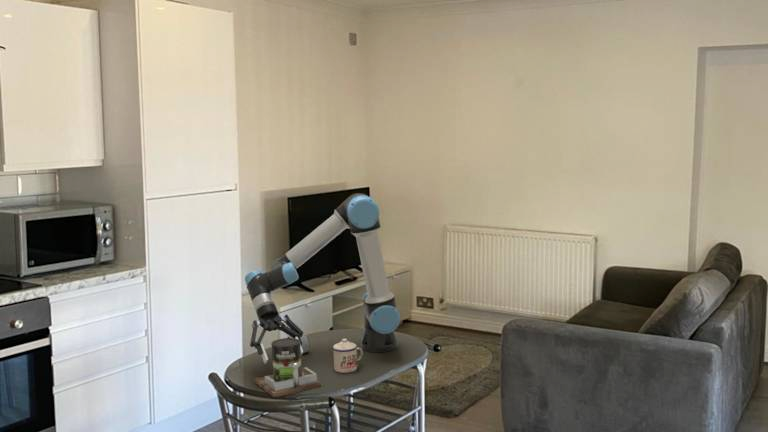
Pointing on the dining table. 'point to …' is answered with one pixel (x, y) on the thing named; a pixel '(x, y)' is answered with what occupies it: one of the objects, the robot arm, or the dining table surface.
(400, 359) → the dining table surface
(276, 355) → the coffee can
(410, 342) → the dining table surface
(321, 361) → the dining table surface
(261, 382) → the board
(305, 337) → the ceramic mug
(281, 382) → the keeper cradle
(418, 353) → the dining table surface
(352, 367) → the teacup with lid
